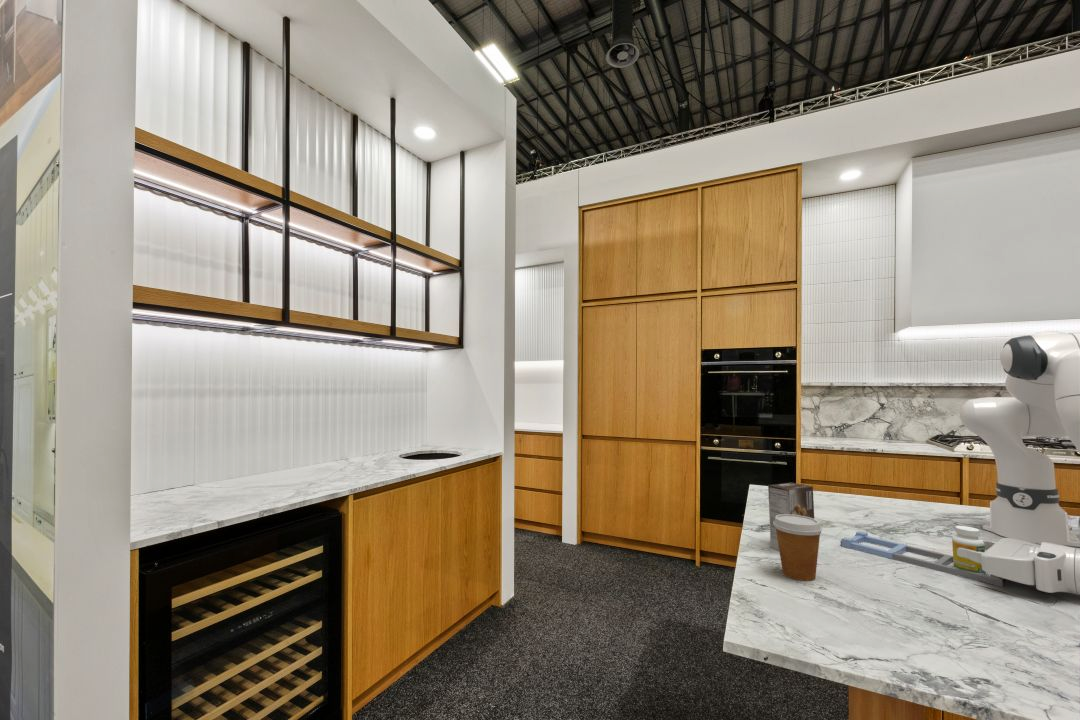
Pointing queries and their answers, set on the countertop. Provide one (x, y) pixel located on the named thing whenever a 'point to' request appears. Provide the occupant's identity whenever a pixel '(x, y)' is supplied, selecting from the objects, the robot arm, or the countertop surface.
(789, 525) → the disposable coffee cup
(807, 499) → the coffee box
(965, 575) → the blue ladder rack
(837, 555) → the countertop surface
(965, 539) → the supplement bottle
